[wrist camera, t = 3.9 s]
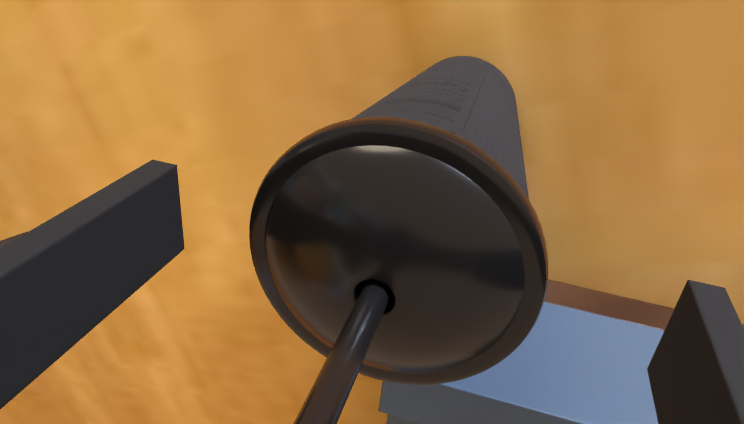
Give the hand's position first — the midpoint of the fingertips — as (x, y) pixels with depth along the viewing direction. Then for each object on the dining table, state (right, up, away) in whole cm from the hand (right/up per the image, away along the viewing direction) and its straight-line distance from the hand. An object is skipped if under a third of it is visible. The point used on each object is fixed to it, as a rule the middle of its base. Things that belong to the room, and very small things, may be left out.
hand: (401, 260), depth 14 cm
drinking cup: (+3, +6, +11) cm, 13 cm away
